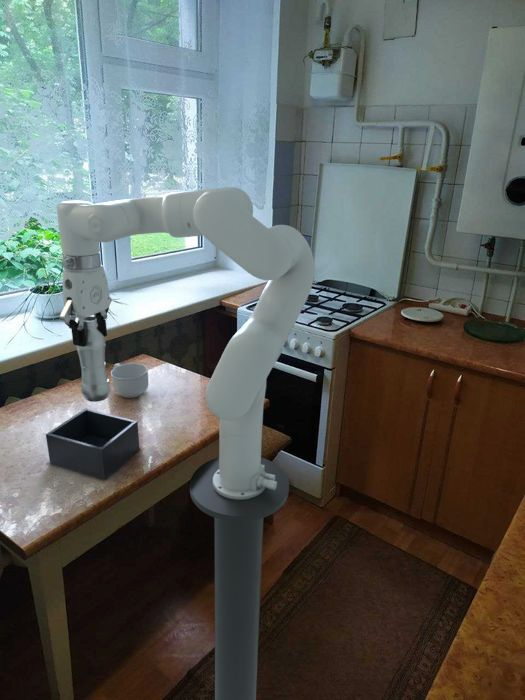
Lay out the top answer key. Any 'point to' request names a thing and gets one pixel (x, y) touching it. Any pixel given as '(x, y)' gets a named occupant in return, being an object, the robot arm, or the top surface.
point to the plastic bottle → (93, 363)
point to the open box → (93, 443)
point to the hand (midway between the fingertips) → (90, 339)
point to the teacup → (130, 379)
